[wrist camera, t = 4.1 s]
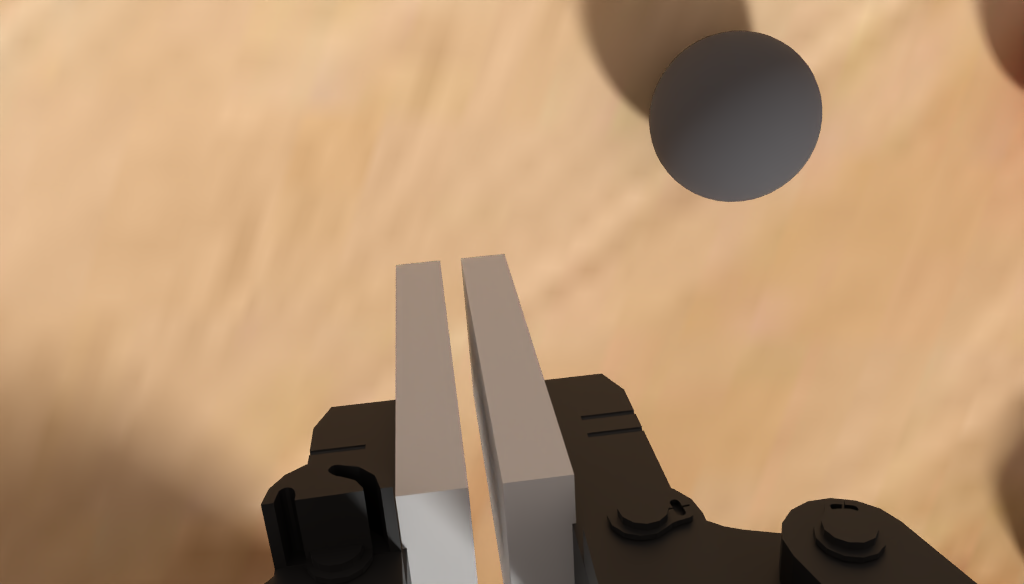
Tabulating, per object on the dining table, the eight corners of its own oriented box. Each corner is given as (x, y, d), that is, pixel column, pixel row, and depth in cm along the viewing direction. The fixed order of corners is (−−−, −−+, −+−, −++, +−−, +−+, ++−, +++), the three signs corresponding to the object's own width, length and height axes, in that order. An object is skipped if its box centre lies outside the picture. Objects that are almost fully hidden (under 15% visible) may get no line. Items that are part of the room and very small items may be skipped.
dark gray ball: (631, 182, 32) (675, 232, 27) (630, 28, 30) (677, 51, 25) (776, 168, 33) (845, 215, 28) (785, 15, 30) (862, 35, 25)
